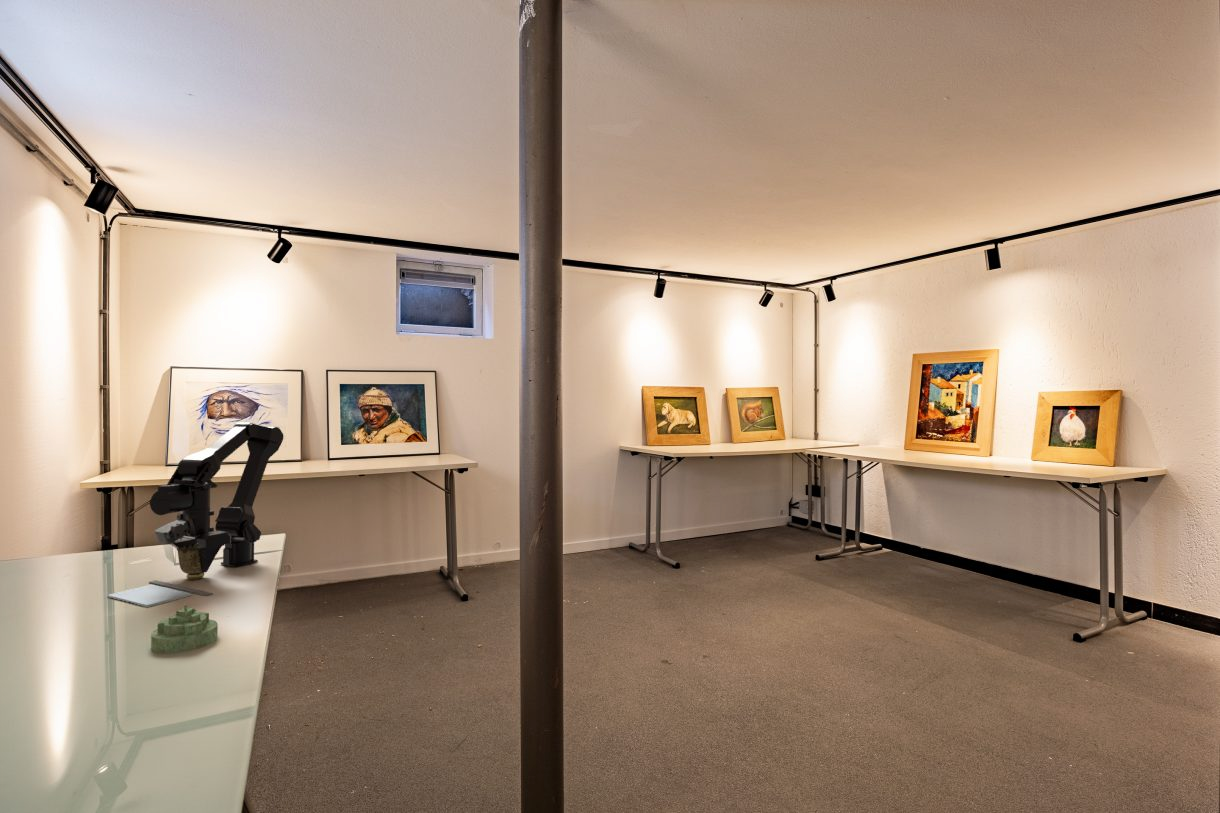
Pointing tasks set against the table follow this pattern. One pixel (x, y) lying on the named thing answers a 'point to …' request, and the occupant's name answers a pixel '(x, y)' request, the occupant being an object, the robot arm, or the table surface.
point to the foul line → (182, 588)
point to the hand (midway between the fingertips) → (195, 570)
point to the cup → (190, 562)
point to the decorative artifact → (184, 632)
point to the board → (149, 595)
